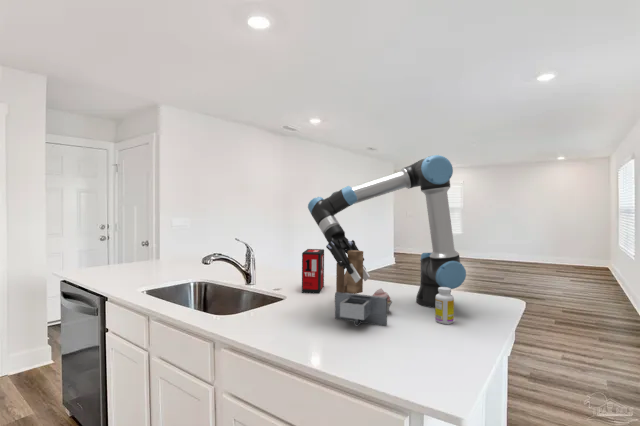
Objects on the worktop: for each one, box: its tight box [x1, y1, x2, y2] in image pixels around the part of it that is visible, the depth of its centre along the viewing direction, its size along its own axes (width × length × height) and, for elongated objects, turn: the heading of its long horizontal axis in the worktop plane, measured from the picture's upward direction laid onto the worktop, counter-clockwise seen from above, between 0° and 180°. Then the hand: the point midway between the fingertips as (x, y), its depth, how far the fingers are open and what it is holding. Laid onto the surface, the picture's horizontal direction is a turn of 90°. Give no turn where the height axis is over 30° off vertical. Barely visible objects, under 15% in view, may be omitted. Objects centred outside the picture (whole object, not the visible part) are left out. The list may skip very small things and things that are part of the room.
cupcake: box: [371, 287, 393, 315], centre depth 149 cm, size 9×9×10 cm
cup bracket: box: [334, 291, 388, 327], centre depth 134 cm, size 20×11×10 cm, turn 66°
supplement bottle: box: [434, 287, 455, 325], centre depth 138 cm, size 7×7×13 cm
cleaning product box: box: [301, 248, 325, 295], centre depth 188 cm, size 16×9×20 cm, turn 172°
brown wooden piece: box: [335, 262, 353, 294], centre depth 168 cm, size 4×11×18 cm, turn 143°
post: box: [347, 249, 364, 294], centre depth 133 cm, size 4×4×15 cm
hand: (362, 279), depth 130 cm, fingers closed on post, 4 cm apart
